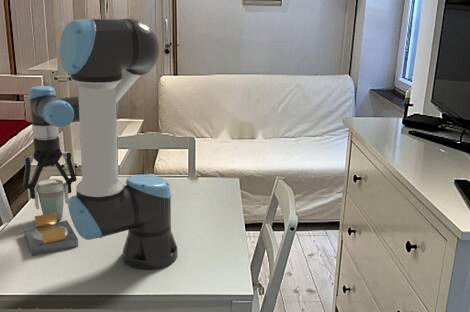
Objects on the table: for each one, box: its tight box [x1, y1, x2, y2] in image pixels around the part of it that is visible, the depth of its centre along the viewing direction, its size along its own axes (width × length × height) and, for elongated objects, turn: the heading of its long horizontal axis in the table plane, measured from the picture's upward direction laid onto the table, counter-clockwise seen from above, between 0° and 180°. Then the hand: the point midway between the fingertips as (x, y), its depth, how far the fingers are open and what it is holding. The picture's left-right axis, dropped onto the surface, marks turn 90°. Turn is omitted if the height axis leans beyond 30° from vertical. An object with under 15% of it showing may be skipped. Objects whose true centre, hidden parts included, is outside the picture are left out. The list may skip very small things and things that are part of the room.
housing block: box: [23, 213, 79, 256], centre depth 152 cm, size 14×13×6 cm
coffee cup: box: [36, 178, 65, 221], centre depth 166 cm, size 8×8×12 cm
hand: (52, 205), depth 166 cm, fingers closed on coffee cup, 8 cm apart
